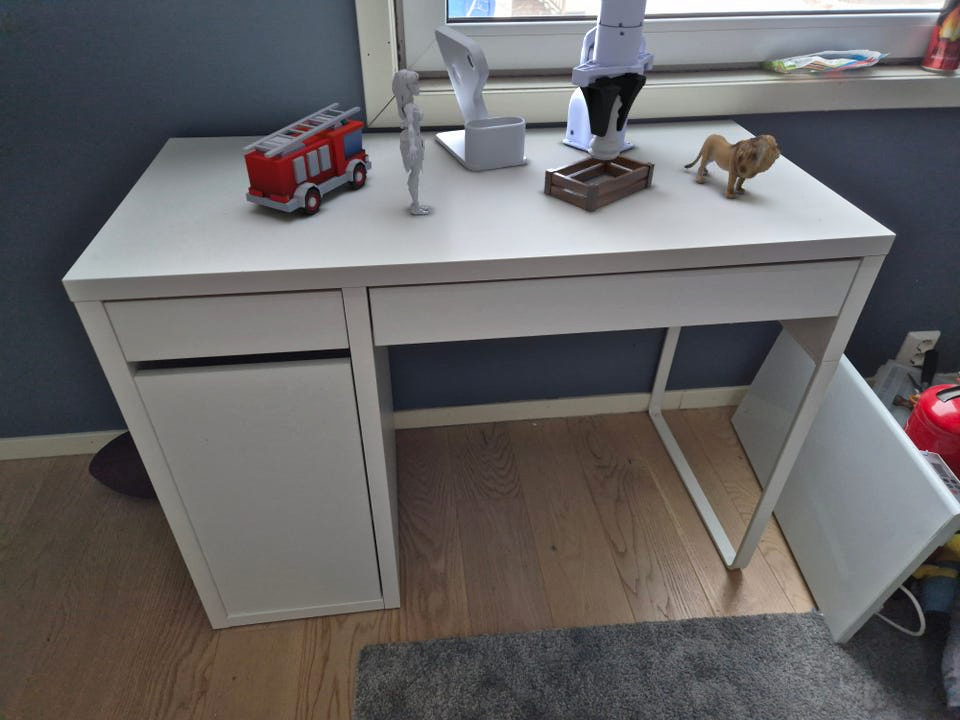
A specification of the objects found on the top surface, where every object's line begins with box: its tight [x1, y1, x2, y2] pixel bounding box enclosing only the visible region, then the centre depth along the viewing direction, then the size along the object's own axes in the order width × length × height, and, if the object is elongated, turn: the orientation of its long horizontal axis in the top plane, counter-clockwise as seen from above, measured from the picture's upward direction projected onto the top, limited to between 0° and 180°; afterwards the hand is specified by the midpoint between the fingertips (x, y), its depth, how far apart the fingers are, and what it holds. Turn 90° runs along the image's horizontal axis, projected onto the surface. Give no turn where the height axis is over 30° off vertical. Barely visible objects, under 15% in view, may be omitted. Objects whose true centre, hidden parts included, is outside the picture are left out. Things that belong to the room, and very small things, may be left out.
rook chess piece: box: [587, 95, 622, 160], centre depth 90 cm, size 4×4×8 cm
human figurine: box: [391, 68, 429, 215], centre depth 83 cm, size 12×4×18 cm, turn 10°
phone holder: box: [434, 25, 527, 172], centre depth 103 cm, size 17×10×18 cm, turn 23°
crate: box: [543, 154, 656, 213], centre depth 94 cm, size 9×14×3 cm, turn 132°
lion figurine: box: [683, 133, 782, 199], centre depth 94 cm, size 15×5×9 cm, turn 33°
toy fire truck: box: [241, 102, 373, 216], centre depth 90 cm, size 9×19×10 cm, turn 152°
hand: (606, 132), depth 90 cm, fingers closed on rook chess piece, 3 cm apart
